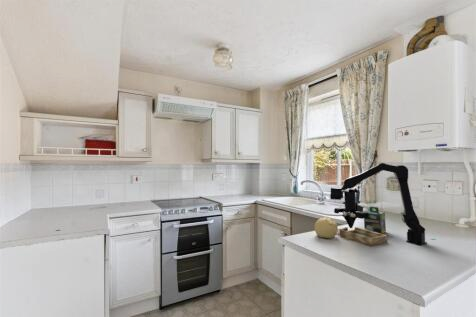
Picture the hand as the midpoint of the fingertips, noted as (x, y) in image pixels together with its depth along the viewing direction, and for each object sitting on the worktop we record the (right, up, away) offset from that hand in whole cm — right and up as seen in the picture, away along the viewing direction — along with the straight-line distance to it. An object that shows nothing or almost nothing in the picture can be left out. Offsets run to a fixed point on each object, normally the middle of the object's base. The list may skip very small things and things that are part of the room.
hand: (351, 228), depth 133 cm
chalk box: (+17, -4, +7) cm, 19 cm away
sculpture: (-15, -5, -2) cm, 16 cm away
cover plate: (-6, -5, +8) cm, 12 cm away
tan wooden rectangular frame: (+3, -4, -7) cm, 8 cm away
